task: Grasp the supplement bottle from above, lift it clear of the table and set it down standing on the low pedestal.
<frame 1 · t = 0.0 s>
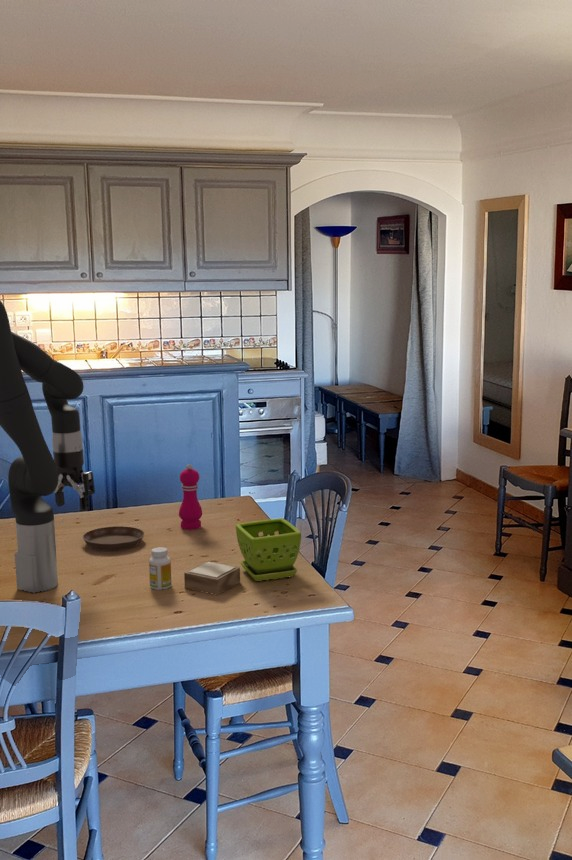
hand: (72, 508, 226), 17 cm above the table, tool pointing down, fingers open, 8 cm apart
pedestal: (212, 585, 218), on the table
flower pot: (268, 574, 226), on the table
supplement bottle: (160, 587, 217), on the table
pepper mill: (191, 527, 267), on the table
plant saucer: (114, 544, 252), on the table
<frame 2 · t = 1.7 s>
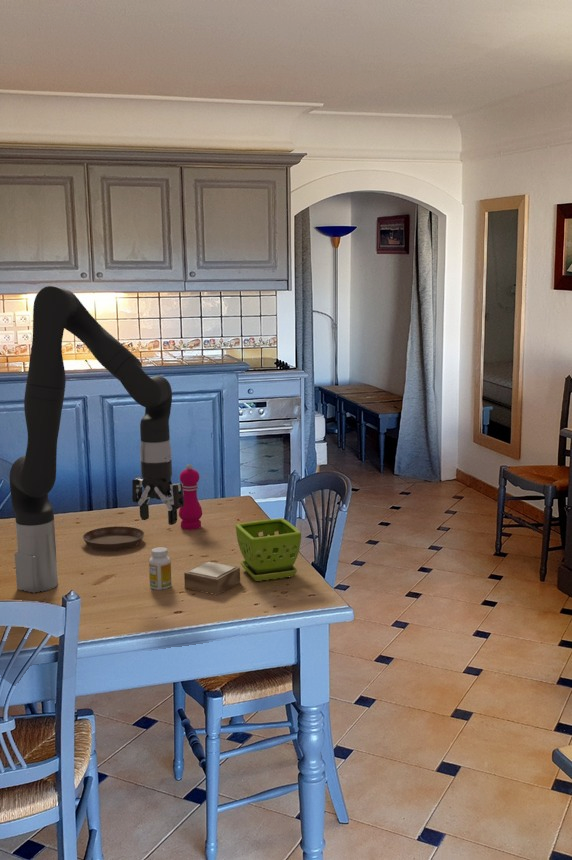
hand: (158, 521, 214), 17 cm above the table, tool pointing down, fingers open, 8 cm apart
nothing on the table moved.
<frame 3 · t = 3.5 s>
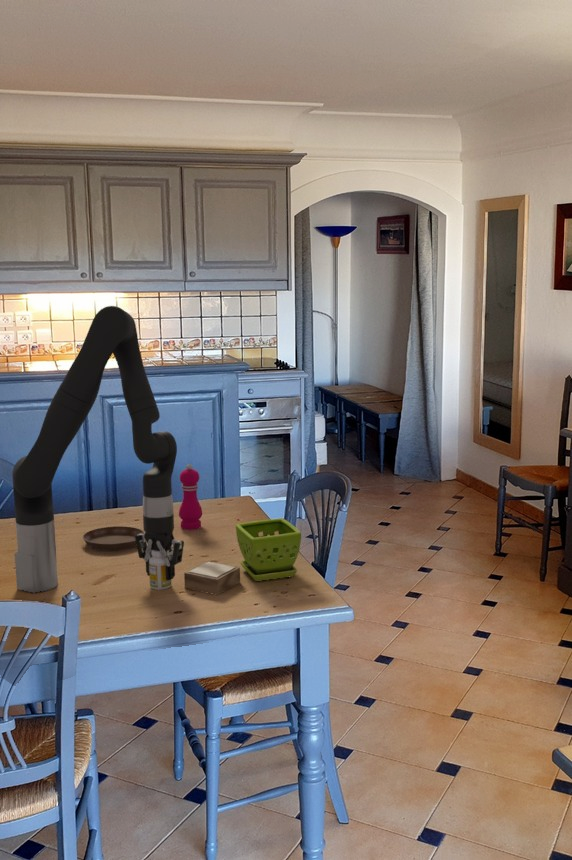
hand: (160, 576, 217), 3 cm above the table, tool pointing down, fingers closed on supplement bottle, 5 cm apart
supplement bottle: (160, 587, 217), on the table, touching gripper
everything else where it was.
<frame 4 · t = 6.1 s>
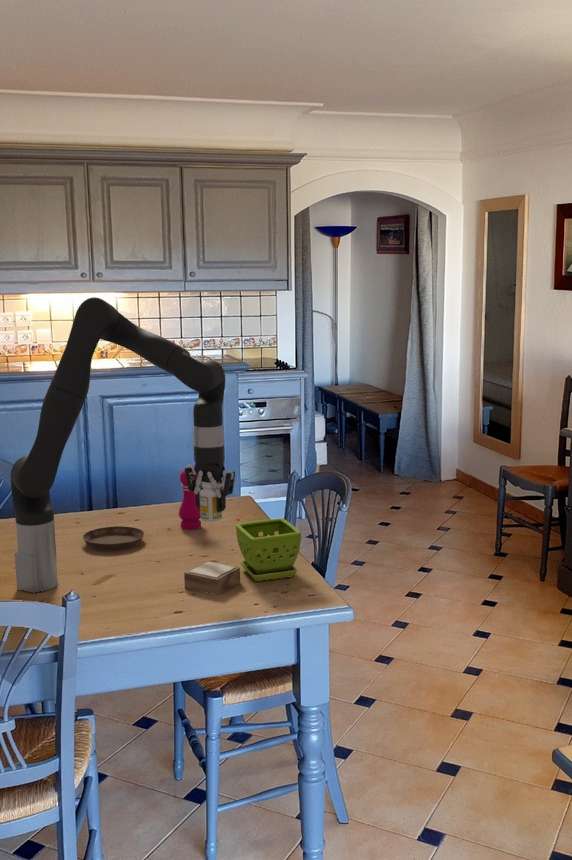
hand: (210, 509, 214), 20 cm above the table, tool pointing down, fingers closed on supplement bottle, 5 cm apart
supplement bottle: (211, 519, 215), point 17 cm above the table, touching gripper
everything else where it was.
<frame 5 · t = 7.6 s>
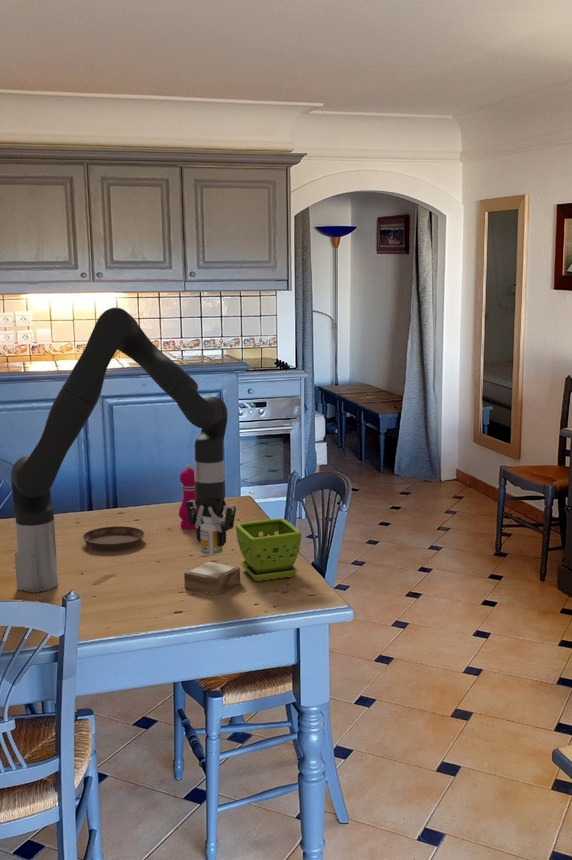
hand: (211, 543, 216), 11 cm above the table, tool pointing down, fingers closed on supplement bottle, 5 cm apart
supplement bottle: (211, 553, 216), point 8 cm above the table, touching gripper
everything else where it was.
when the fingers open (8 cm above the table, at t = 8.7 s): supplement bottle drops 1 cm, resting on pedestal.
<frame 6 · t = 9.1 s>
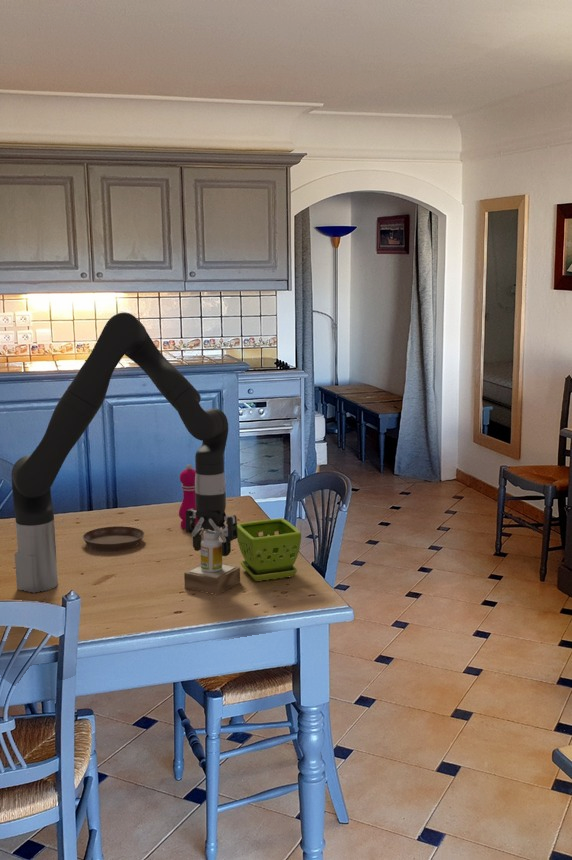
hand: (211, 552, 216), 9 cm above the table, tool pointing down, fingers open, 8 cm apart
supplement bottle: (211, 569, 217), point 4 cm above the table, touching pedestal
everything else where it was.
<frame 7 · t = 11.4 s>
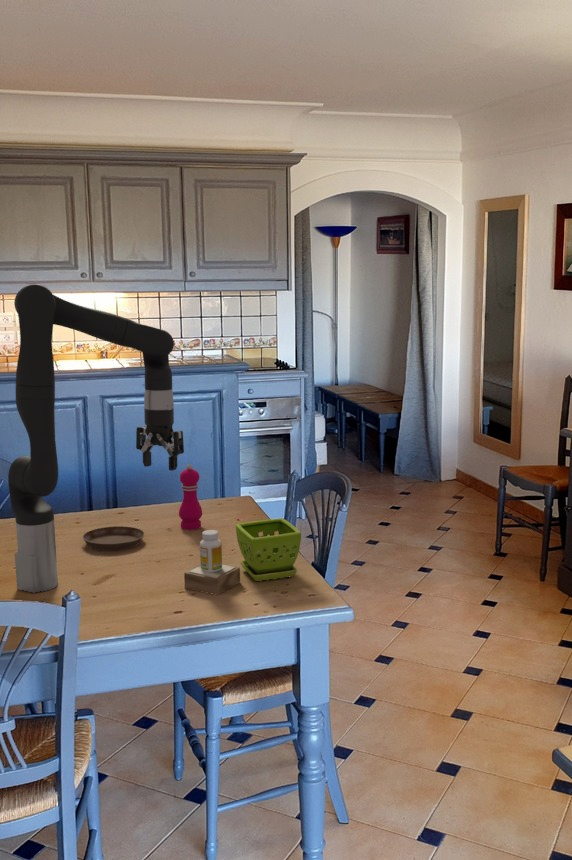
hand: (160, 468, 225), 27 cm above the table, tool pointing down, fingers open, 8 cm apart
nothing on the table moved.
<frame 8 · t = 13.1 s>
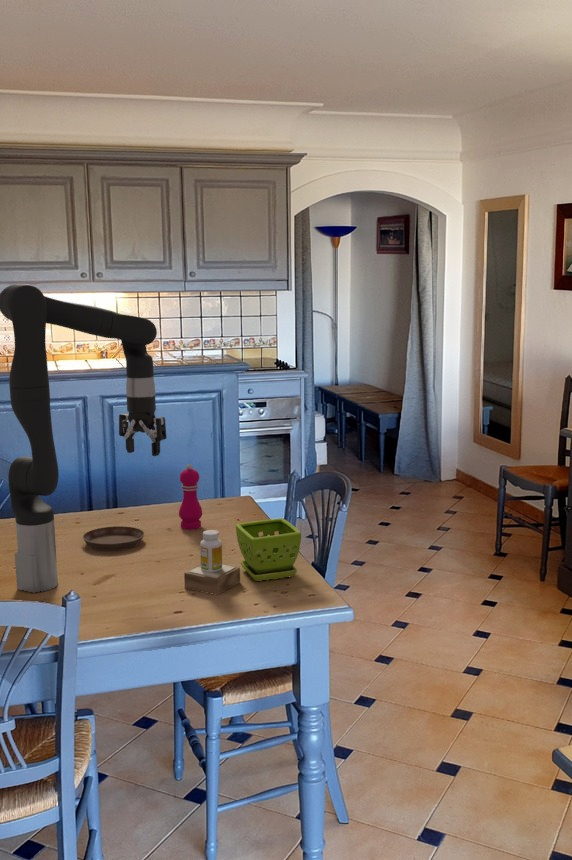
hand: (143, 454, 230), 30 cm above the table, tool pointing down, fingers open, 8 cm apart
nothing on the table moved.
at the end: supplement bottle inside the target area on the pedestal (0.2 cm from its centre), point 4.1 cm above the pedestal's base; supplement bottle tilted 1°; the gripper is holding nothing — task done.
